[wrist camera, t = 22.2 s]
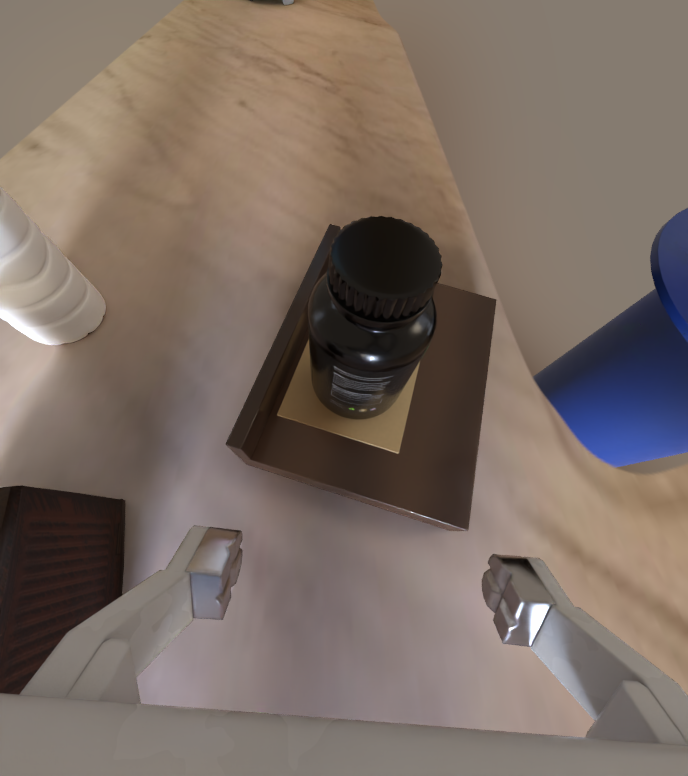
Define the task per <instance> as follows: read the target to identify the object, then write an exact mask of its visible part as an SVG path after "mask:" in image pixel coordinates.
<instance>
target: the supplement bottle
mask: <svg viewBox="0 0 688 776" xmlns="http://www.w3.org/2000/svg"><path fill="white" fill-rule="evenodd" d="M441 268H442V262H441V255H440V253H439V248H438V247H437V246H436V245H435V243H434V240H432V239H431V238H430V237H429V235H428V234H427V233H425V232H423V231H422V230H421V229H420V228H419V227H416V226H414V225H413V224H412V223H408V222H405V221H403V220H401V219H395V218H392V217H383V216H379V217H372V216H371V217H368V218H361V219H359V220H358V221H352V222H351V224H349V225H346V226H344V228H343V229H342V230H340V231H338V234H337V236H336V237H335V238H334V239H333V244H332V245H331V247H330V256H329V266H328V269H327V272H326V273H325V274H324V275H323V276H322V277H321V278H320V280H319V281H318V282H317V284H316V285H315V287H314V289H313V291H312V293H311V296H310V299H309V304H308V331H309V350H310V369H311V381H312V386H313V389H314V392H315V394H316V396H317V397H318V399H319V400H320V402H321V403H322V404H323V405H324V406H325V407H326V408H327V409H329V410H330V411H331V412H333V413H335V414H337V415H339V416H341V417H344V418H348V419H354V420H362V419H369V418H373V417H376V416H378V415H380V414H382V413H384V412H385V411H387V410H388V409H389V408H390V407H391V406H392V405H393V404H394V403H395V401H396V400H397V398H398V397H399V395H400V394H401V392H402V390H403V389H404V387H405V385H406V384H407V382H408V380H409V379H410V377H411V375H412V374H413V372H414V370H415V369H416V367H417V365H418V364H419V362H420V360H421V358H422V357H423V355H424V353H425V352H426V350H427V348H428V347H429V345H430V343H431V341H432V339H433V336H434V334H435V330H436V325H437V311H436V305H435V302H434V299H433V292H434V289H435V287H436V285H437V282H438V280H439V278H440V275H441Z"/></svg>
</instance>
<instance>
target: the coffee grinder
mask: <svg viewBox="0 0 688 776" xmlns="http://www.w3.org/2000/svg"><path fill="white" fill-rule="evenodd" d="M124 534H125V500H123V499H112V498H106V497H100V496H93V495H86V494H80V493H73V492H65V491H57V490H50V489H42V488H34V487H28V486H11V487H2V488H0V693H6V694H20V693H21V691H22V690H23V689H24V688H25V686H26V685H27V684H28V682H29V681H30V680H31V679H32V677H33V676H34V675H35V673H36V672H37V671H38V670H39V668H40V667H41V666H42V664H43V663H44V662H45V661H46V659H47V658H48V657H49V655H50V654H51V653H52V651H53V650H54V649H55V648H56V646H57V645H58V644H59V642H60V641H61V640H62V639H63V637H64V636H65V635H66V633H67V632H69V631H70V630H72V629H73V628H75V627H76V626H78V625H79V624H81V623H82V622H84V621H85V620H87V619H88V618H89V617H91V616H92V615H94V614H95V613H97V612H98V611H100V610H101V609H103V608H104V607H106V606H107V605H109V604H110V603H112V602H113V601H115V600H116V599H118V598H119V597H121V596H122V585H123V569H124Z"/></svg>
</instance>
